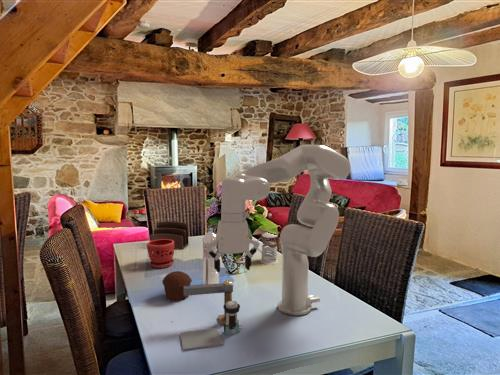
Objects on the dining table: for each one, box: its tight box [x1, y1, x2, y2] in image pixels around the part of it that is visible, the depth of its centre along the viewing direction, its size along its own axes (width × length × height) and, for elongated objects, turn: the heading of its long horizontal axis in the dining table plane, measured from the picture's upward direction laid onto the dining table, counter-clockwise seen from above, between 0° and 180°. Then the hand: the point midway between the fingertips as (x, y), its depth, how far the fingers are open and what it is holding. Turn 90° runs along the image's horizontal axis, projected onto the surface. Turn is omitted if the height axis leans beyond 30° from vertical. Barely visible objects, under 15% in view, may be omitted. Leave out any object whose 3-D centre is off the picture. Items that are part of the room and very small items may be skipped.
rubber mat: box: [179, 327, 224, 352], centre depth 121 cm, size 12×10×1 cm
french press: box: [256, 213, 280, 265], centre depth 196 cm, size 10×12×25 cm
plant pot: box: [146, 239, 175, 269], centre depth 190 cm, size 13×13×12 cm
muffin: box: [162, 270, 193, 302], centre depth 152 cm, size 12×11×10 cm
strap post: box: [217, 292, 240, 327], centre depth 133 cm, size 6×6×10 cm
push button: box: [223, 300, 244, 336], centre depth 125 cm, size 7×5×10 cm
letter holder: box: [149, 220, 190, 251], centre depth 223 cm, size 10×20×14 cm, turn 80°
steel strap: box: [184, 279, 234, 297], centre depth 130 cm, size 3×17×3 cm, turn 102°
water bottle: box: [202, 227, 220, 285], centre depth 163 cm, size 7×7×25 cm
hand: (232, 269), depth 123 cm, fingers open, 9 cm apart
